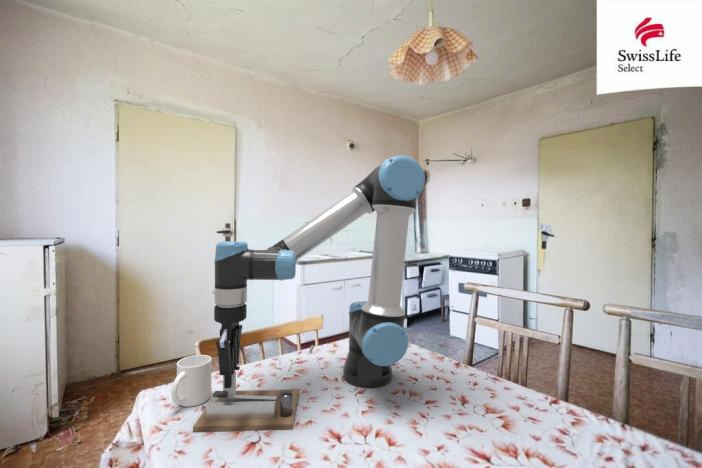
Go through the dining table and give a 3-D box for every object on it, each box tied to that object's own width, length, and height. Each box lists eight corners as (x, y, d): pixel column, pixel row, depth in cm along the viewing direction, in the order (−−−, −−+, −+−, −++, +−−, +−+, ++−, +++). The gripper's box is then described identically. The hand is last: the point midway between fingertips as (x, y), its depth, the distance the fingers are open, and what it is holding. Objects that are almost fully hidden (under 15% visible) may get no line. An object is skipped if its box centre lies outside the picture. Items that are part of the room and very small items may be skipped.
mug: (186, 418, 78) (186, 375, 78) (157, 413, 80) (157, 371, 80) (217, 393, 90) (218, 356, 90) (191, 389, 92) (191, 353, 92)
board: (299, 393, 90) (299, 389, 90) (292, 429, 74) (292, 424, 74) (217, 395, 89) (217, 391, 89) (192, 432, 73) (192, 426, 73)
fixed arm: (292, 410, 80) (292, 388, 80) (291, 417, 77) (291, 395, 77) (211, 412, 79) (211, 390, 78) (206, 420, 76) (206, 396, 75)
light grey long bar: (277, 408, 80) (277, 393, 80) (275, 412, 78) (275, 396, 78) (215, 406, 81) (215, 390, 81) (212, 409, 79) (212, 394, 79)
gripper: (224, 297, 87) (222, 385, 88) (204, 310, 74) (203, 413, 75) (252, 298, 88) (251, 385, 88) (238, 310, 75) (236, 413, 75)
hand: (229, 398), depth 82 cm, fingers closed
